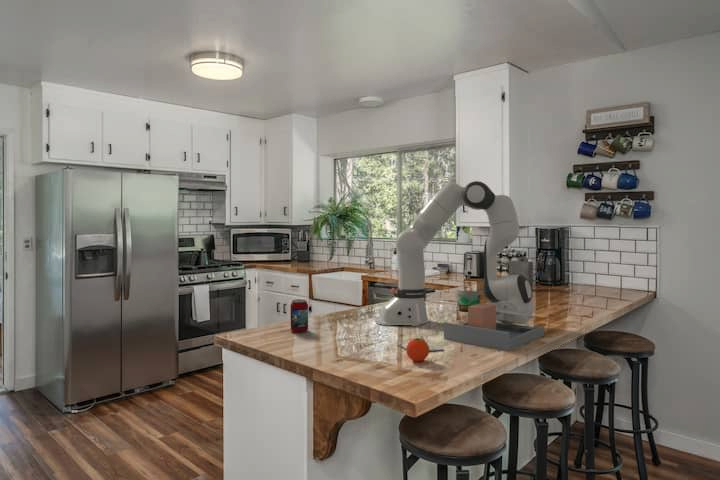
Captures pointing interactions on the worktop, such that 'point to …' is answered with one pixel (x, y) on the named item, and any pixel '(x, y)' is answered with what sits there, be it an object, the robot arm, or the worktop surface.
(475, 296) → the potted plant
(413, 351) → the red tomato
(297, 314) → the beverage can
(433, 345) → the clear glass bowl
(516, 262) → the flask
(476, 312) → the block
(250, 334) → the worktop surface
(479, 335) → the tray
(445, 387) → the worktop surface
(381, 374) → the worktop surface
